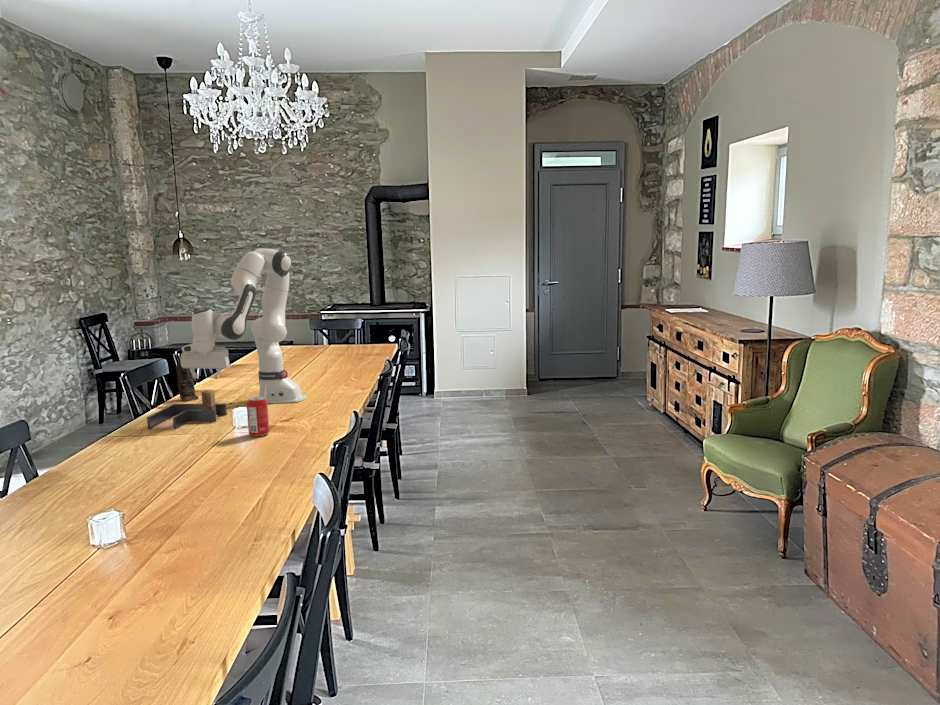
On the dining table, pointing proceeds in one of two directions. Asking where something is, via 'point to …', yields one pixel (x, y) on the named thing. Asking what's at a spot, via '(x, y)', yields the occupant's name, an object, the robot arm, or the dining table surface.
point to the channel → (185, 414)
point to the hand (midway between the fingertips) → (206, 378)
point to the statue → (185, 383)
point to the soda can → (257, 416)
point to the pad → (165, 425)
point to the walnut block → (208, 400)
